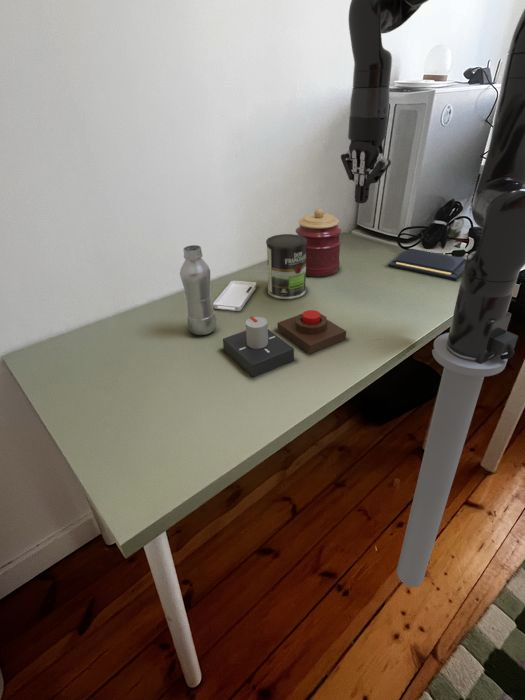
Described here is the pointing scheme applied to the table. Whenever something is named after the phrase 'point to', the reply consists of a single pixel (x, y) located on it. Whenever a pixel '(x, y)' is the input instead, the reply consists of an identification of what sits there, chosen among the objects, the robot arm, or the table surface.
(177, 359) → the table surface
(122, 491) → the table surface
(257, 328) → the brew dial
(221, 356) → the table surface
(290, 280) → the coffee can
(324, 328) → the power button base
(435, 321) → the table surface
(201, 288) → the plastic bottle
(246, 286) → the phone case
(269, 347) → the dial console
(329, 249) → the kitchen canister
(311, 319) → the power button
